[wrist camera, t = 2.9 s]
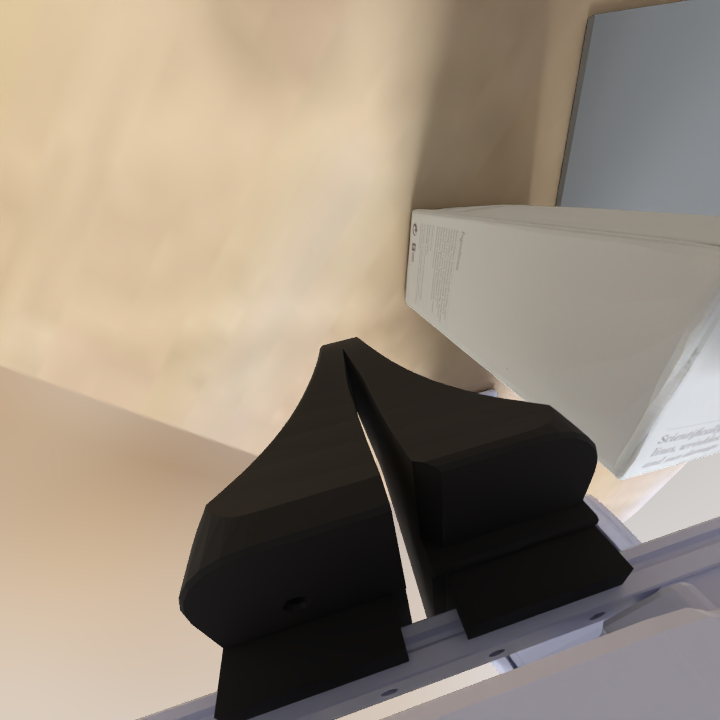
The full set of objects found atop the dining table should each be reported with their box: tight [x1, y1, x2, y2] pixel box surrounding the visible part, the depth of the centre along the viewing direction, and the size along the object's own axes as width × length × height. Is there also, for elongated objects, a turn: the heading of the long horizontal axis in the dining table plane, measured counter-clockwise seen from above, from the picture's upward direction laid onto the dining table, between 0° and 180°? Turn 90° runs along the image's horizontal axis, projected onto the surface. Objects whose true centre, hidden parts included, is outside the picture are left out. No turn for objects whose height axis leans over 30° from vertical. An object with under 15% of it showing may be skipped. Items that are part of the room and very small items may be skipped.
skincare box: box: [405, 204, 720, 480], centre depth 13 cm, size 8×6×15 cm
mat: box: [556, 0, 720, 216], centre depth 20 cm, size 20×18×1 cm
